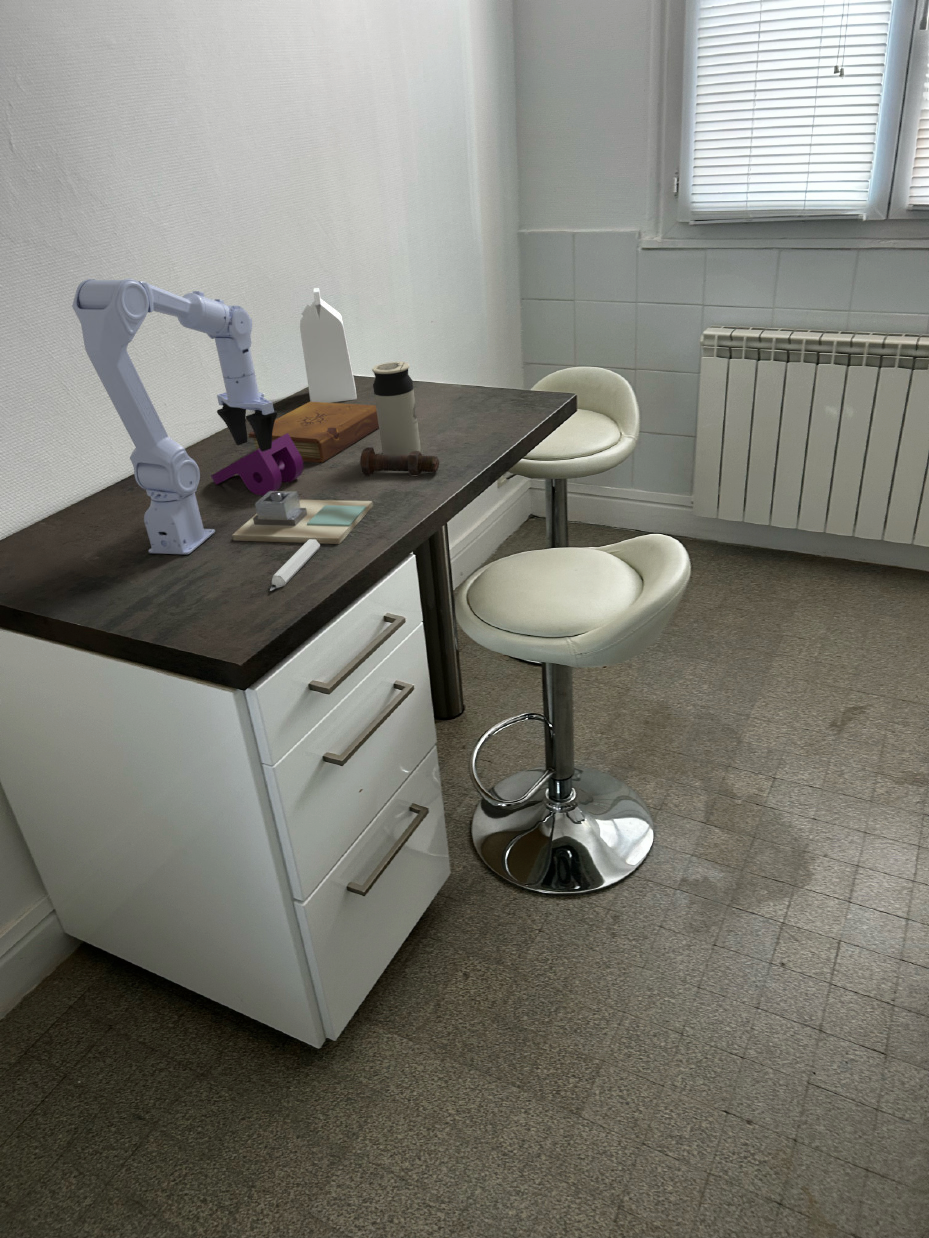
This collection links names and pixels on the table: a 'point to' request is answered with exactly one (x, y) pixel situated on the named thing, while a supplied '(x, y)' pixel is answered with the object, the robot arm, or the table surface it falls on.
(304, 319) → the milk
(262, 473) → the mounting bracket
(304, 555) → the marker
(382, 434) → the travel mug
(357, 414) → the diary
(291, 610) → the table surface
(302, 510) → the peg base
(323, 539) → the board
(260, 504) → the square hollow frame
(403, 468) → the bolt
